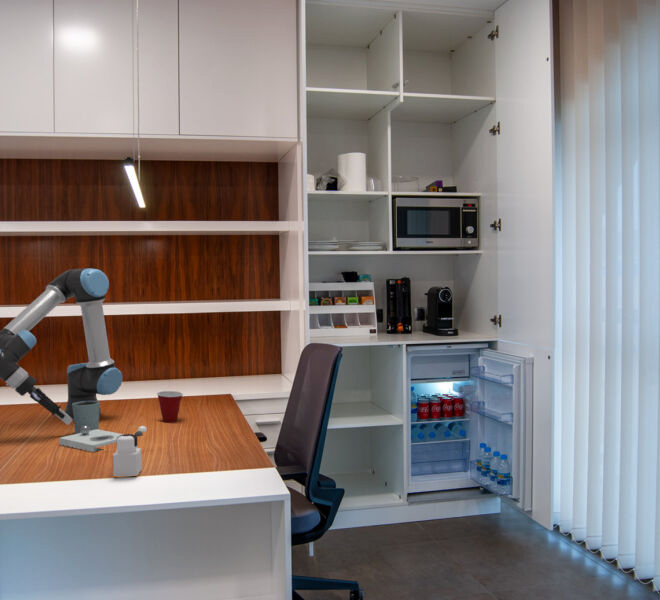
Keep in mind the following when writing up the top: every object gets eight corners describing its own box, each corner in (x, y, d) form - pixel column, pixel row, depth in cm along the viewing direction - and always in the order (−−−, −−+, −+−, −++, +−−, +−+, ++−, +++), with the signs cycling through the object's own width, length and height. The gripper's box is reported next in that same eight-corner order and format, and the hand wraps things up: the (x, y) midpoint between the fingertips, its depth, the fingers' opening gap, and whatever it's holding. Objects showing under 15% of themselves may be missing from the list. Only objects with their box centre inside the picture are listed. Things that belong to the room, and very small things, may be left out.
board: (59, 444, 240) (59, 437, 240) (97, 435, 253) (97, 429, 253) (93, 452, 228) (93, 445, 228) (131, 442, 241) (131, 435, 241)
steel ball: (78, 435, 243) (77, 425, 243) (86, 433, 246) (86, 423, 246) (83, 436, 241) (83, 426, 241) (92, 434, 244) (92, 425, 244)
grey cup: (74, 437, 250) (73, 406, 250) (71, 432, 259) (70, 401, 258) (102, 434, 255) (101, 403, 254) (98, 429, 264) (97, 399, 263)
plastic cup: (177, 424, 271) (176, 395, 271) (152, 423, 273) (152, 394, 273) (188, 418, 282) (187, 390, 281) (164, 417, 284) (163, 390, 284)
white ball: (135, 435, 253) (135, 426, 252) (143, 433, 255) (142, 424, 255) (141, 436, 251) (141, 427, 250) (149, 434, 253) (148, 425, 253)
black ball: (132, 439, 246) (132, 431, 246) (139, 437, 249) (139, 429, 249) (138, 440, 244) (137, 432, 244) (144, 438, 247) (144, 430, 247)
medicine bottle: (118, 471, 206) (117, 433, 205) (141, 470, 206) (141, 432, 206) (112, 478, 198) (112, 438, 198) (137, 477, 199) (136, 437, 199)
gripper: (15, 386, 252) (63, 426, 259) (12, 392, 240) (63, 433, 247) (30, 372, 254) (77, 411, 261) (28, 376, 242) (78, 418, 249)
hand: (70, 422), depth 254 cm, fingers closed
